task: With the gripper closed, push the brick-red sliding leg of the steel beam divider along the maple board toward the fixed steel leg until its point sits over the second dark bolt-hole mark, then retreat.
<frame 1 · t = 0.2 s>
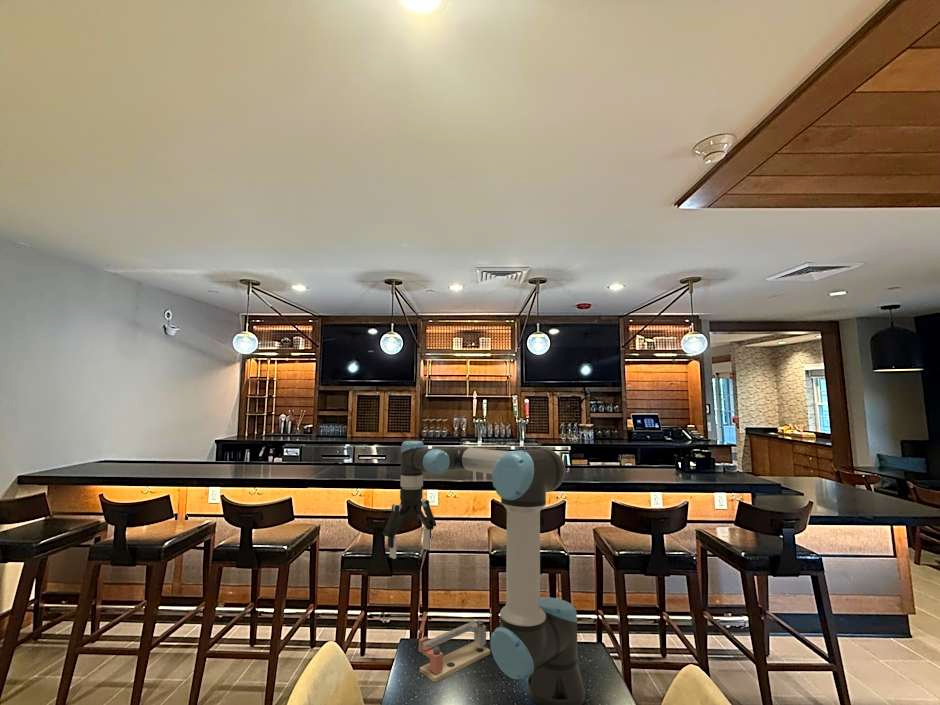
hand: (410, 553, 151), 28 cm above the table, fingers open, 13 cm apart
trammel: (455, 643, 136), on the bolt plate, point 5 cm above the table
slide leg: (430, 654, 131), point 5 cm above the table, slide at 0.0 cm
wine glass: (523, 656, 140), on the table
bolt plate: (456, 662, 136), on the table
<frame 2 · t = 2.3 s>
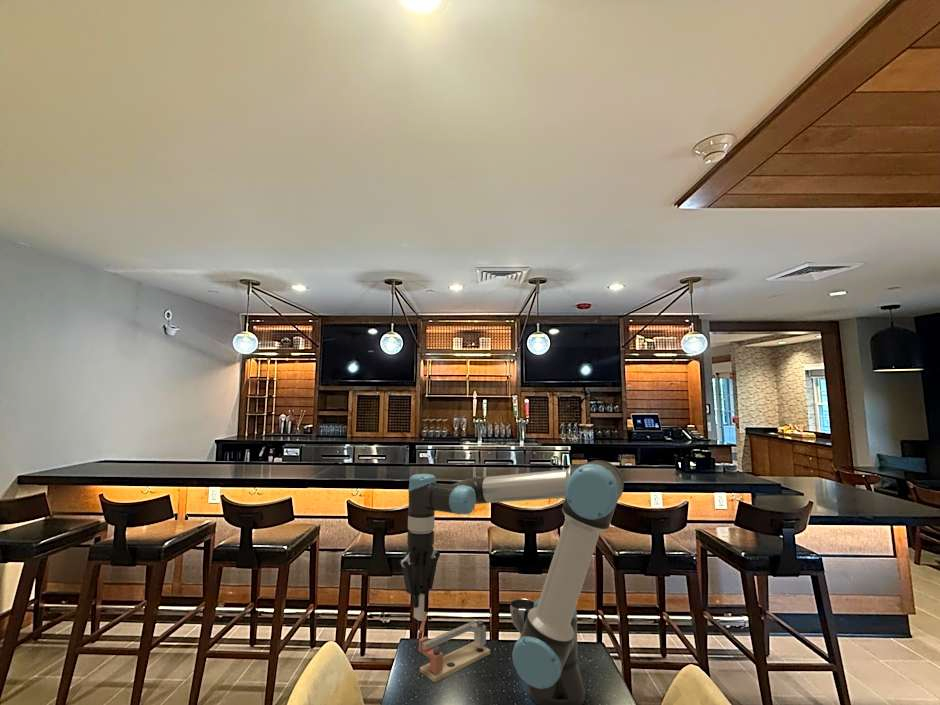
hand: (418, 618, 126), 17 cm above the table, fingers closed
nothing on the table moved.
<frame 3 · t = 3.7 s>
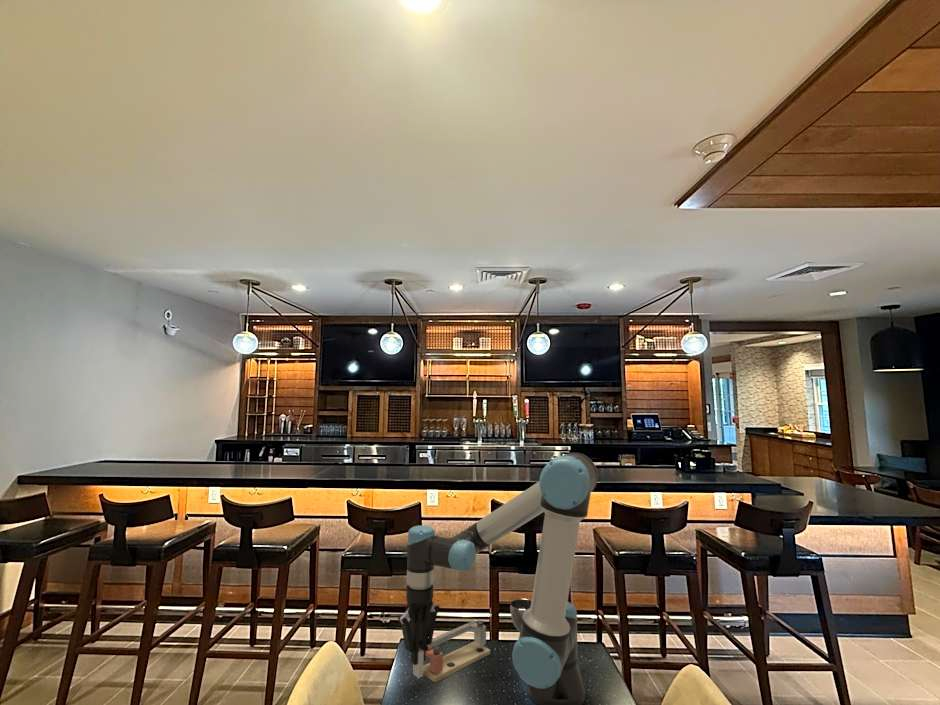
hand: (418, 674, 125), 3 cm above the table, fingers closed
nothing on the table moved.
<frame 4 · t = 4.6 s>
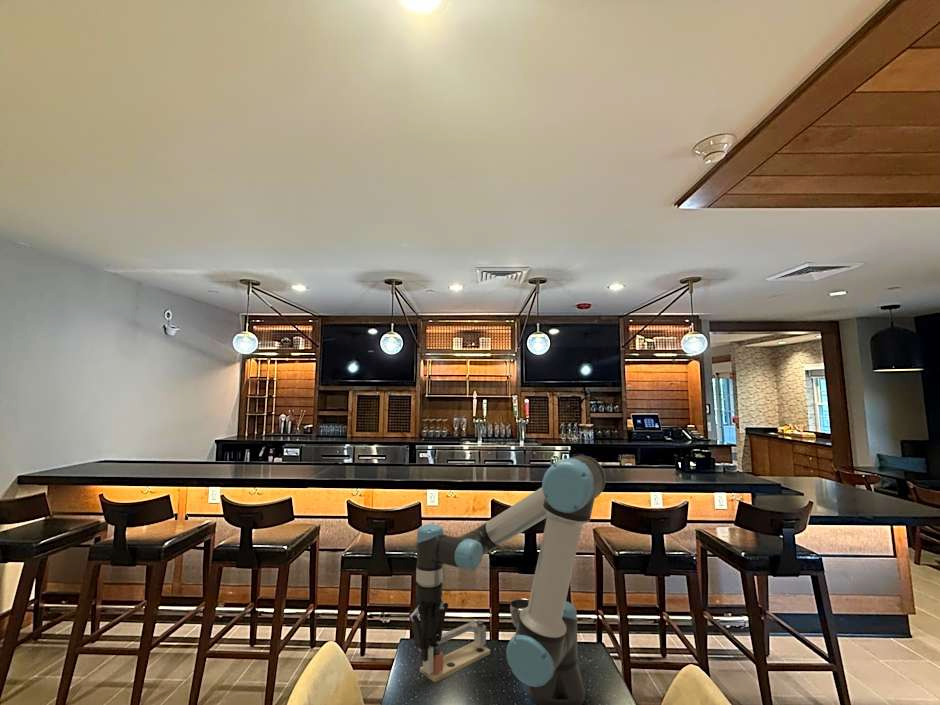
hand: (427, 671, 127), 3 cm above the table, fingers closed
slide leg: (430, 654, 131), point 5 cm above the table, slide at 0.1 cm, touching gripper
everything else where it was.
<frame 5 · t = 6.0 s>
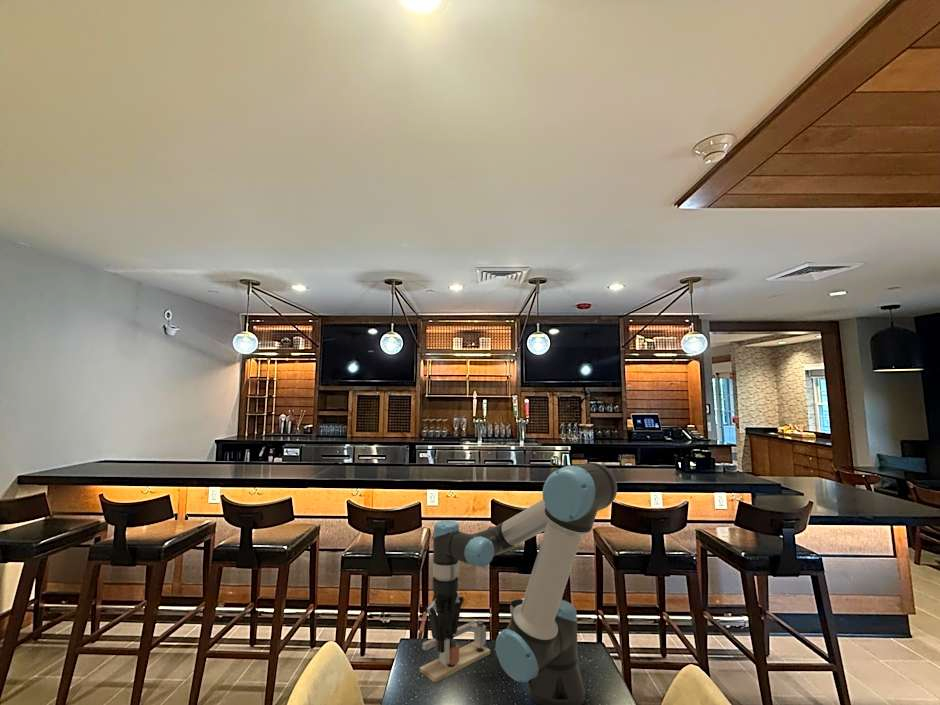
hand: (444, 662, 131), 3 cm above the table, fingers closed
slide leg: (446, 647, 135), point 5 cm above the table, slide at 6.2 cm, touching gripper
everything else where it was.
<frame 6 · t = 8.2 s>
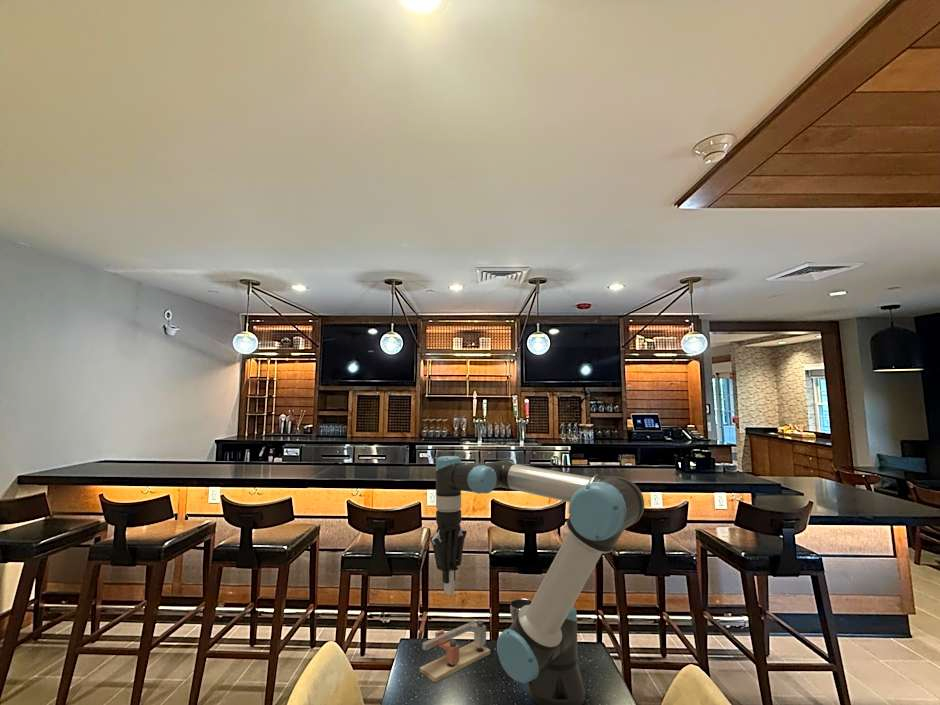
hand: (449, 593, 132), 22 cm above the table, fingers closed
slide leg: (447, 647, 135), point 5 cm above the table, slide at 6.2 cm
everything else where it was.
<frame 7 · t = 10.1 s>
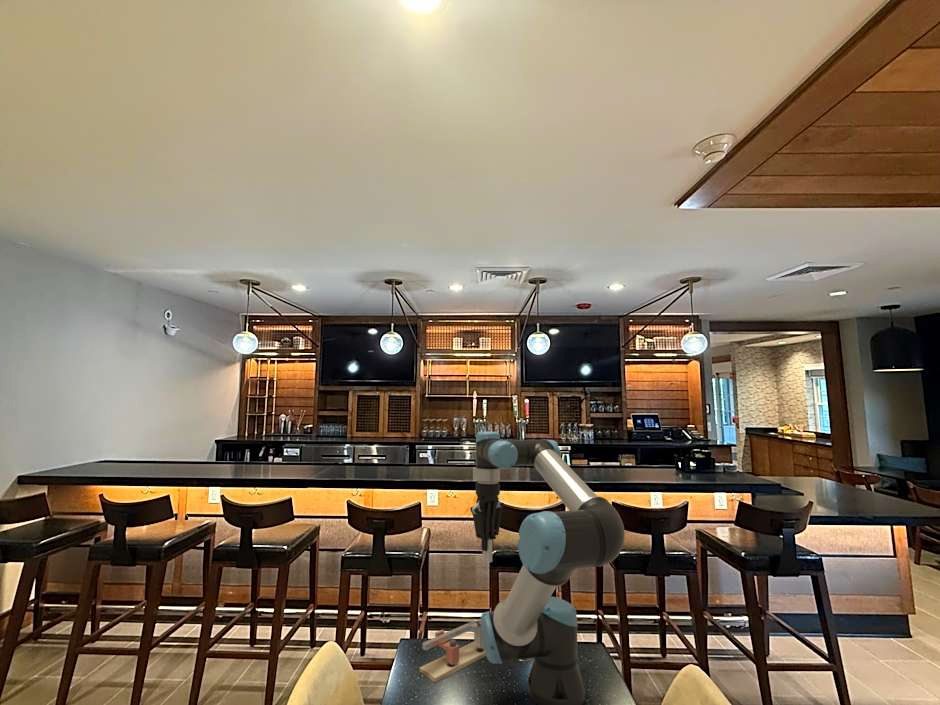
hand: (487, 561, 138), 29 cm above the table, fingers closed
nothing on the table moved.
at the end: slide leg slide at 6.2 cm; slide leg moved 6.2 cm from its start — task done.
